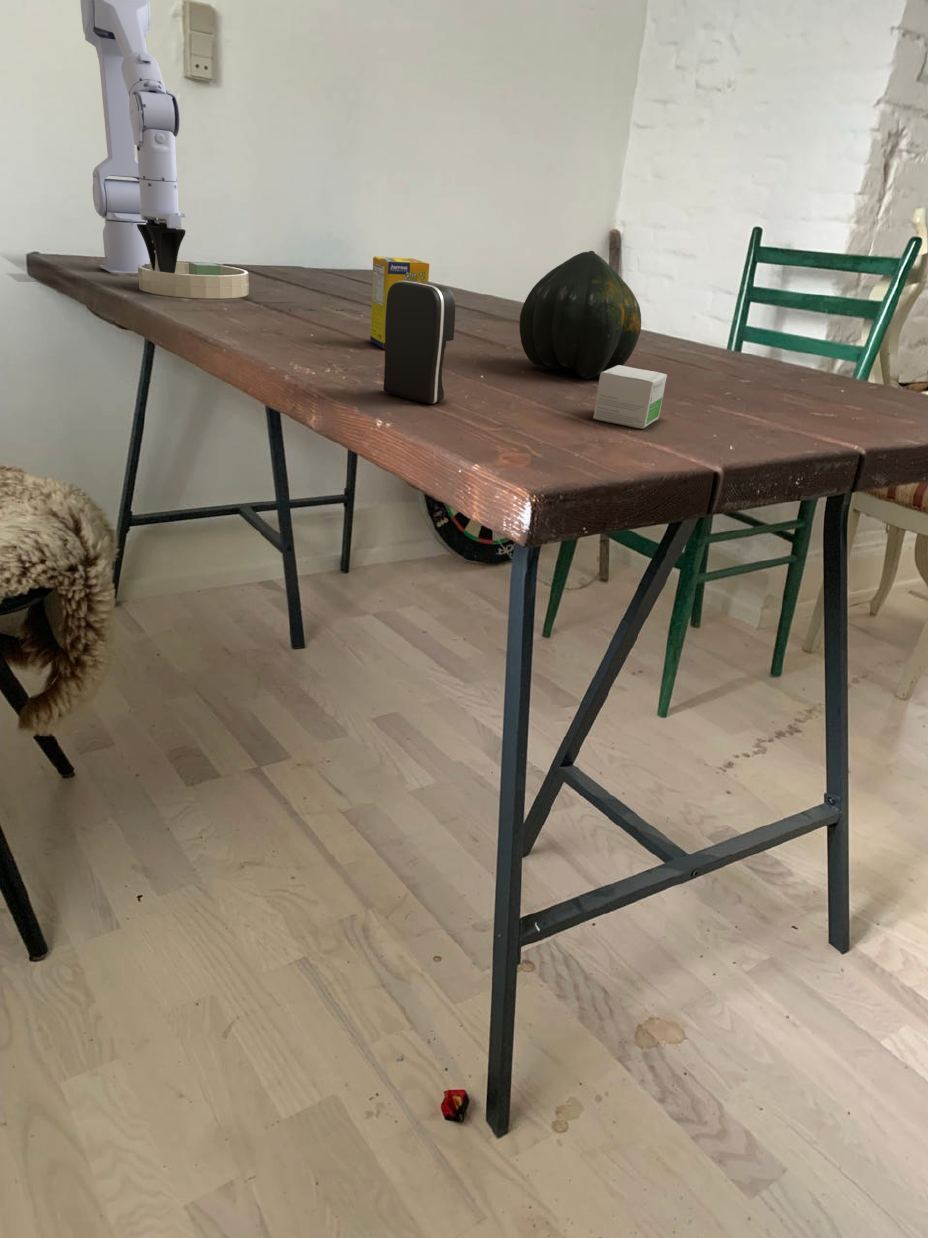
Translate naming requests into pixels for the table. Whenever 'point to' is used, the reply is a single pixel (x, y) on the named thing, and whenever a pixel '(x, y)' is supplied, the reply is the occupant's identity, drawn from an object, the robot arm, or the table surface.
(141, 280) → the bowl
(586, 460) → the table surface
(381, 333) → the supplement box
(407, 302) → the battery charger
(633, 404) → the small box
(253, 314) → the table surface
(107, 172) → the robot arm
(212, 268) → the block
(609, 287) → the squash
